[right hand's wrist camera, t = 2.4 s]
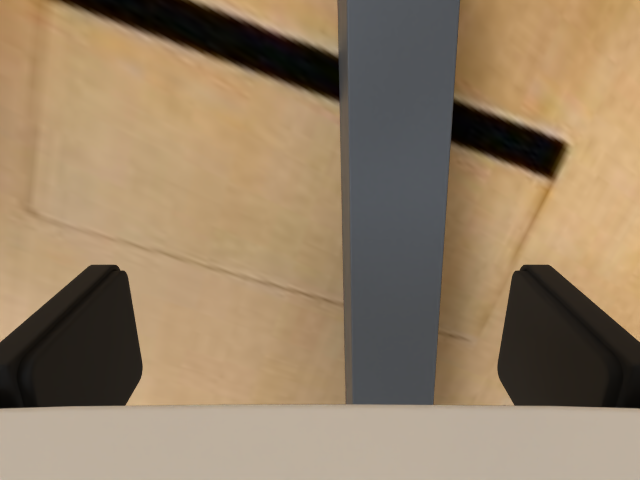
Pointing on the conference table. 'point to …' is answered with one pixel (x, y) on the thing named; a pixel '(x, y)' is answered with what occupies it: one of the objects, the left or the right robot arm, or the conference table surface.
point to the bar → (394, 191)
